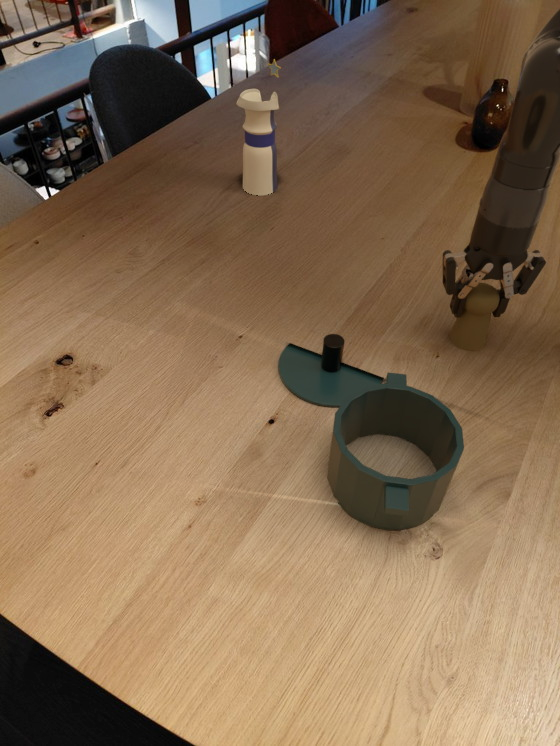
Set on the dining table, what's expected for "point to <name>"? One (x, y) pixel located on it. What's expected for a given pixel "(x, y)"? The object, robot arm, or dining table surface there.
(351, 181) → the dining table surface
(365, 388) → the pot
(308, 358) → the lid
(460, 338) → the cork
